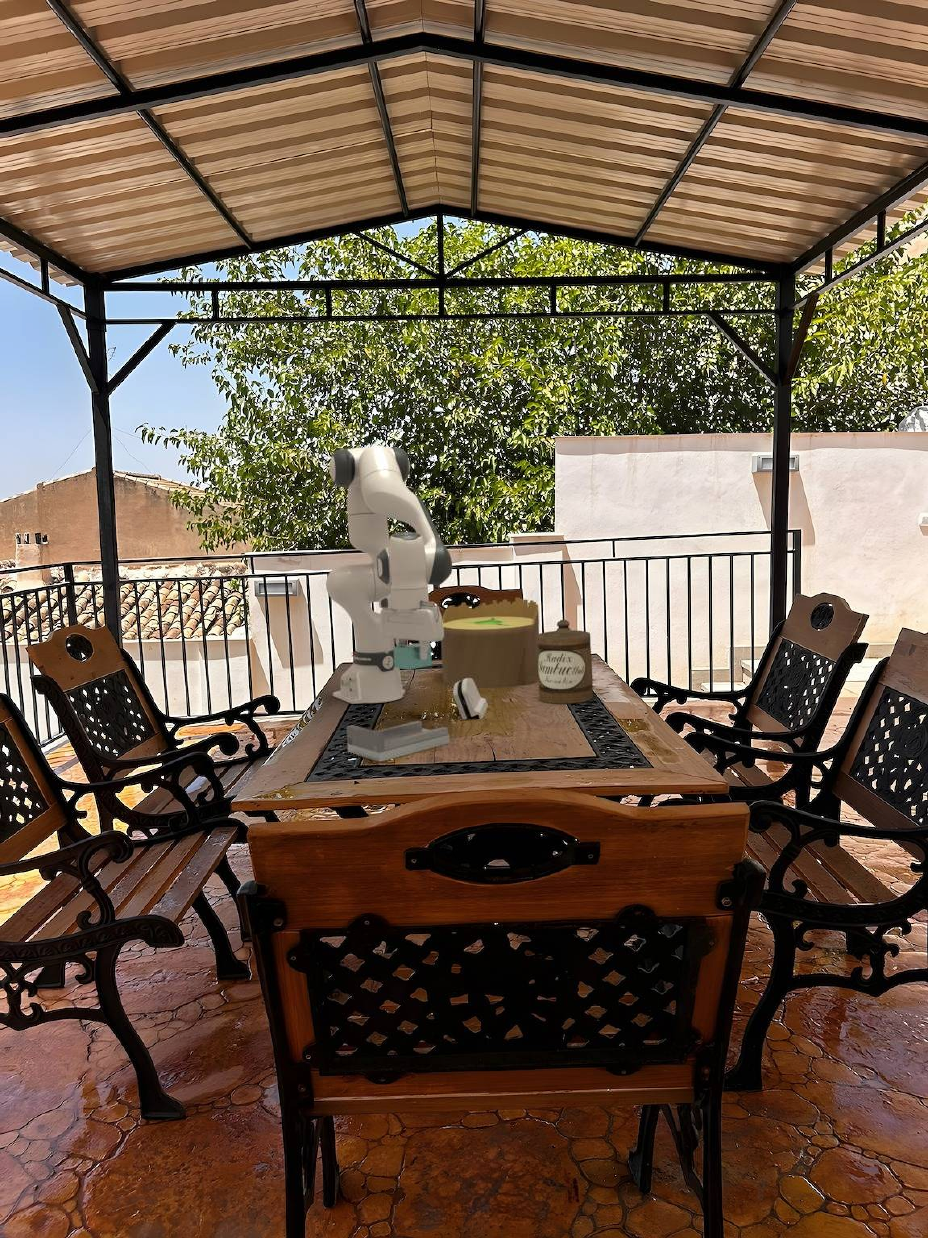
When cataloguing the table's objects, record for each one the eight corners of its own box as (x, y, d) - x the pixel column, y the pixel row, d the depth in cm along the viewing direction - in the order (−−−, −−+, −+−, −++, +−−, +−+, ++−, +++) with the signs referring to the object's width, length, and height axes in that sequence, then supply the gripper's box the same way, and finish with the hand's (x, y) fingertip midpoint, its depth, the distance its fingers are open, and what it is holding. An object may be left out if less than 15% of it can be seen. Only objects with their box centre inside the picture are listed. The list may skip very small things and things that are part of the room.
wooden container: (532, 703, 245) (529, 623, 242) (548, 692, 259) (545, 616, 256) (585, 705, 239) (583, 623, 237) (598, 694, 253) (596, 616, 250)
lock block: (394, 667, 214) (393, 646, 214) (419, 663, 219) (418, 643, 219) (408, 669, 210) (407, 648, 210) (433, 665, 215) (432, 644, 215)
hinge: (481, 719, 229) (467, 683, 228) (464, 725, 230) (450, 689, 229) (488, 704, 245) (474, 671, 244) (472, 710, 246) (458, 677, 245)
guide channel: (347, 752, 203) (346, 726, 202) (417, 734, 216) (416, 710, 215) (379, 762, 194) (377, 735, 193) (449, 743, 207) (448, 717, 206)
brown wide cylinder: (488, 665, 307) (485, 595, 304) (566, 676, 282) (564, 600, 279) (417, 680, 286) (413, 605, 283) (494, 693, 260) (491, 611, 257)
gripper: (448, 600, 207) (451, 659, 209) (395, 598, 223) (398, 653, 224) (427, 603, 203) (430, 663, 205) (374, 600, 219) (377, 657, 220)
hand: (413, 658), depth 215 cm, fingers closed on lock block, 5 cm apart
